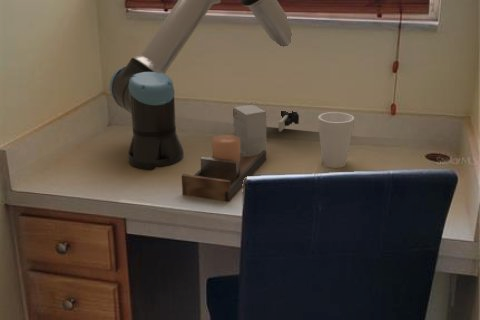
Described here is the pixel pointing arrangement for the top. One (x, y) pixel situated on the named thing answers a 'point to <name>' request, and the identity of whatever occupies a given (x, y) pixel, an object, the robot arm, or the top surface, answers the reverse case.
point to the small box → (250, 129)
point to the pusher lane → (221, 181)
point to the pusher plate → (219, 168)
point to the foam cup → (335, 137)
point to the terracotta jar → (226, 148)
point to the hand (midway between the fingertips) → (257, 124)
